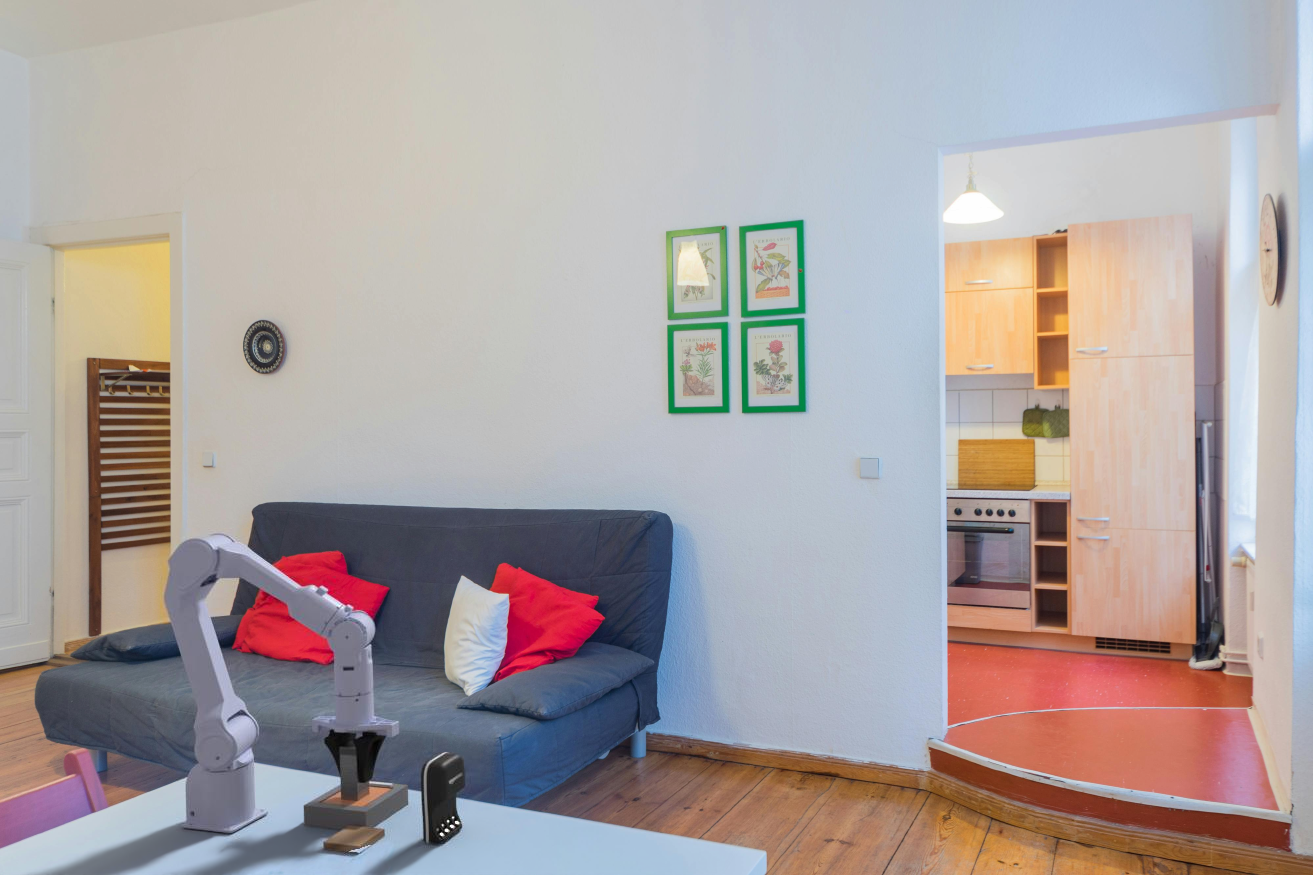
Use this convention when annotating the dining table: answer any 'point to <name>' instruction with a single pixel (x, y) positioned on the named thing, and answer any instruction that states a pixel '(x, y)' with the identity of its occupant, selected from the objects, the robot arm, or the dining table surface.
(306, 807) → the tray
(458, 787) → the battery charger
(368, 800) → the button
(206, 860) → the dining table surface
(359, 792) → the grey rectangular block
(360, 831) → the walnut pad
